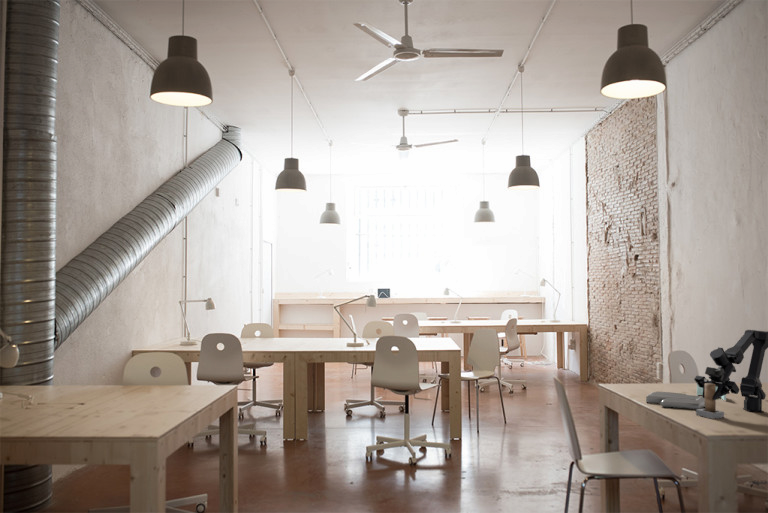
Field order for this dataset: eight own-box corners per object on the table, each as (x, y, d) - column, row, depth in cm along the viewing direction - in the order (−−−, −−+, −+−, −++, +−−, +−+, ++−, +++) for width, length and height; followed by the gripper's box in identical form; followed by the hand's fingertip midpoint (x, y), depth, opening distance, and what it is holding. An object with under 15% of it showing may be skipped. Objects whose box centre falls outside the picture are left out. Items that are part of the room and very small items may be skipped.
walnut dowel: (712, 411, 270) (712, 383, 270) (717, 414, 266) (717, 385, 266) (702, 411, 270) (702, 383, 271) (707, 413, 266) (707, 384, 266)
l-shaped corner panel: (696, 396, 321) (696, 382, 321) (721, 398, 316) (721, 384, 317) (699, 400, 309) (700, 385, 310) (725, 402, 305) (726, 387, 306)
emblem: (679, 388, 311) (722, 399, 284) (679, 398, 311) (722, 410, 284) (634, 389, 304) (674, 400, 277) (634, 400, 304) (673, 412, 277)
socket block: (707, 413, 273) (707, 408, 273) (724, 417, 266) (724, 411, 266) (696, 415, 270) (696, 409, 270) (712, 418, 262) (712, 413, 263)
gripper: (696, 358, 279) (681, 383, 274) (735, 363, 262) (719, 390, 257) (707, 374, 282) (692, 398, 277) (746, 380, 266) (731, 407, 260)
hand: (708, 398), depth 268 cm, fingers closed on walnut dowel, 4 cm apart
